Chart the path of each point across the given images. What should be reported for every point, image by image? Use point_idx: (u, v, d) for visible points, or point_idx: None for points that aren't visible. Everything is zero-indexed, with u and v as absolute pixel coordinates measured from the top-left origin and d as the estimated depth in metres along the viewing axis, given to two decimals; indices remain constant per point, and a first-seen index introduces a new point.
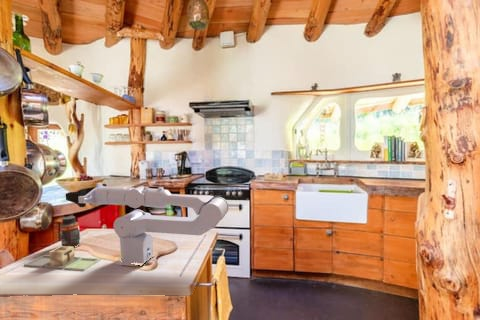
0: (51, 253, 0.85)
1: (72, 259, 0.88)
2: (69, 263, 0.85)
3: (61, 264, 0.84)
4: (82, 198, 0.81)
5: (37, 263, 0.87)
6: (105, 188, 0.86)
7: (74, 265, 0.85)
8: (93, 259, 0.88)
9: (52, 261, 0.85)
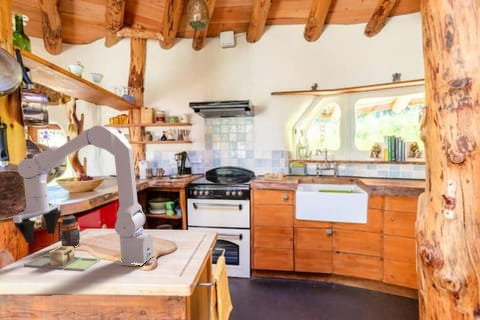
0: (51, 253, 0.85)
1: (72, 259, 0.88)
2: (69, 263, 0.85)
3: (61, 264, 0.84)
4: (14, 217, 0.80)
5: (37, 263, 0.87)
6: None
7: (74, 265, 0.85)
8: (93, 259, 0.88)
9: (52, 261, 0.85)
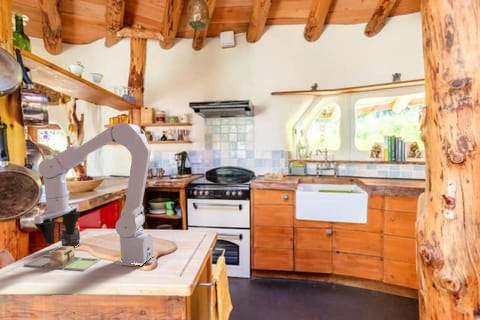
0: (51, 253, 0.85)
1: (72, 259, 0.88)
2: (69, 263, 0.85)
3: (61, 264, 0.84)
4: (35, 218, 0.78)
5: (37, 263, 0.87)
6: None
7: (74, 265, 0.85)
8: (93, 259, 0.88)
9: (52, 261, 0.85)
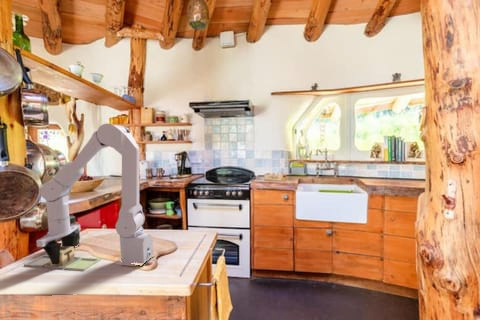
0: None
1: (72, 259, 0.88)
2: (69, 263, 0.85)
3: (61, 264, 0.84)
4: (37, 242, 0.79)
5: (37, 263, 0.87)
6: None
7: (74, 265, 0.85)
8: (93, 259, 0.88)
9: None
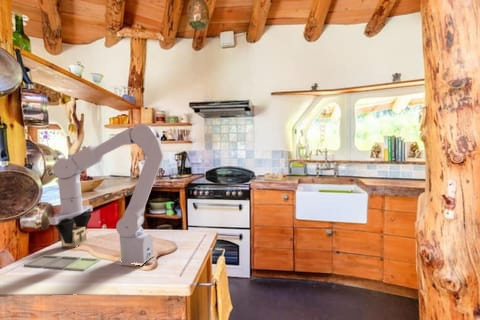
0: None
1: (84, 239, 0.86)
2: (69, 263, 0.85)
3: (73, 244, 0.83)
4: (50, 219, 0.78)
5: (37, 263, 0.87)
6: None
7: (74, 265, 0.85)
8: (93, 259, 0.88)
9: None
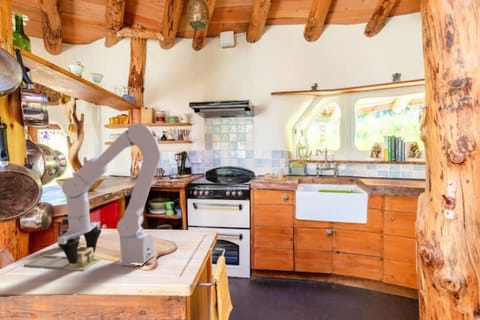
0: None
1: (92, 260, 0.86)
2: None
3: (81, 265, 0.83)
4: (59, 239, 0.78)
5: (37, 263, 0.87)
6: None
7: None
8: None
9: None
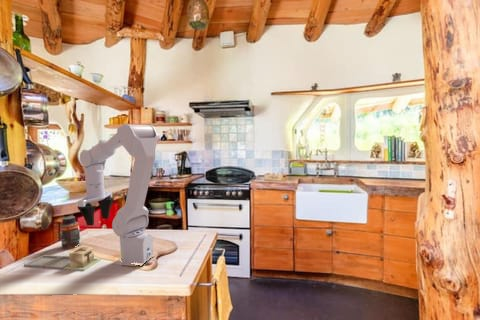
0: (71, 254, 0.83)
1: (92, 260, 0.86)
2: (69, 263, 0.85)
3: (81, 265, 0.83)
4: (79, 202, 0.89)
5: (37, 263, 0.87)
6: None
7: None
8: None
9: (72, 262, 0.83)
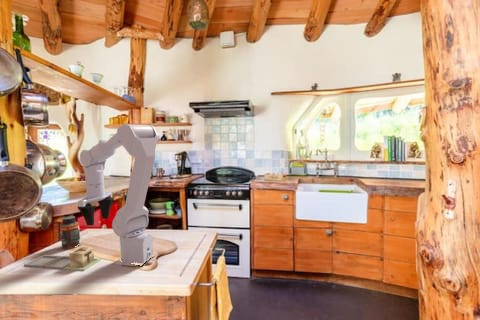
0: (71, 254, 0.83)
1: (92, 260, 0.86)
2: (69, 263, 0.85)
3: (81, 265, 0.83)
4: (79, 202, 0.89)
5: (37, 263, 0.87)
6: None
7: None
8: None
9: (72, 262, 0.83)
